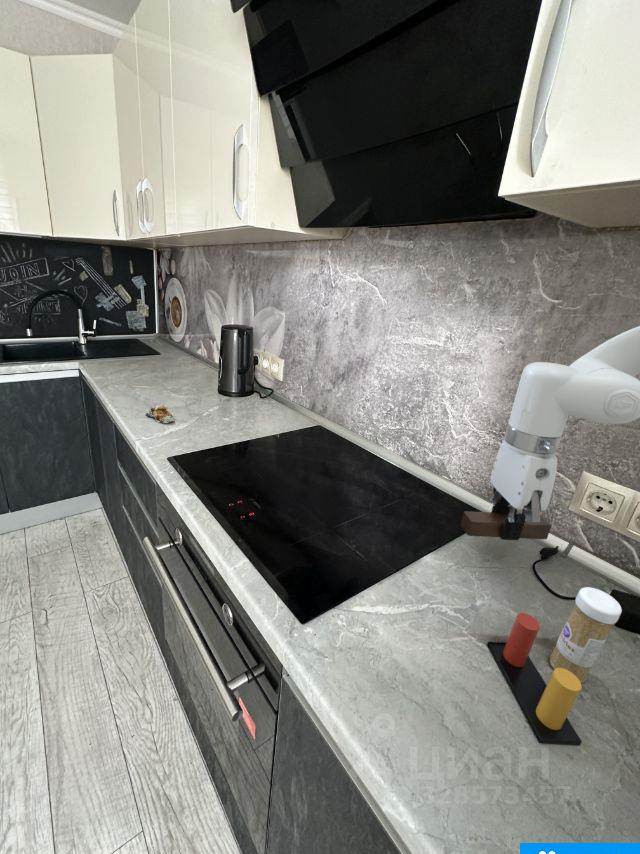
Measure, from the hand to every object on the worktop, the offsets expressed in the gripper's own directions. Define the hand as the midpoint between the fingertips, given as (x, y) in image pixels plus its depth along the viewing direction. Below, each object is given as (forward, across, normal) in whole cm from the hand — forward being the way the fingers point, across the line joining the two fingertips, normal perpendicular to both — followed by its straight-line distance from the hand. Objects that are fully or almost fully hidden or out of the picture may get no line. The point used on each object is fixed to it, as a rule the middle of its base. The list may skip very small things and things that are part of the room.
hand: (503, 530), depth 70 cm
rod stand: (+10, -22, +6) cm, 25 cm away
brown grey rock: (+8, +66, +82) cm, 105 cm away
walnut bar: (0, 0, 0) cm, 0 cm away
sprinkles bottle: (+10, -18, -2) cm, 21 cm away
